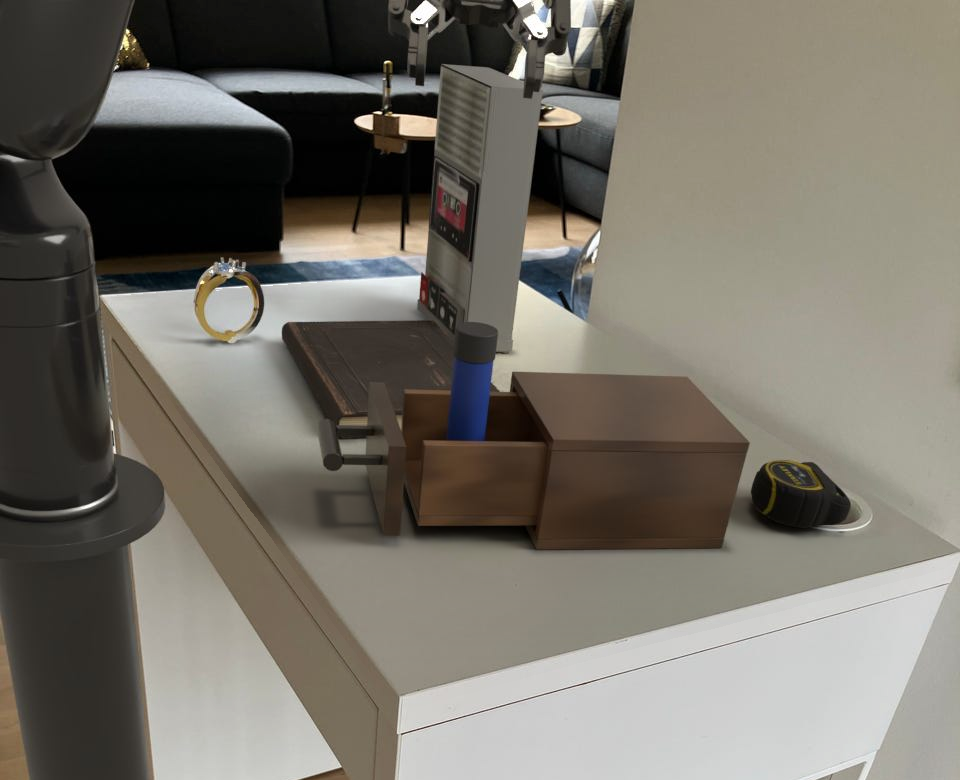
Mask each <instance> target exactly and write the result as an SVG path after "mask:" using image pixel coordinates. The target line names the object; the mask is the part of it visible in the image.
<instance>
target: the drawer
mask: <svg viewBox="0 0 960 780" xmlns="http://www.w3.org/2000/svg"><path fill="white" fill-rule="evenodd" d="M450 395H451V391H450V390H410V389H404V393H403V408H402V423H401V429H400V426H399V423H398V420H397V417H396V414H395V412H394V409H393V406H392V403H391V400H390V397H389V394H388V391H387V388H386V385H385V382H369V396H368V417H367V426H361V425H336V426H335V423H334V422H333V421H332V420H330V419H329V418H323V419H321V420H319V421H318V422H317V424H316V432H317V437H318V438H317V439H318V443H319V449H320V453H321V459H322V464H323V467H324V468H325V469H326V470H327V471H330V472H336V471H339V470H340V469H341V468H342V467H343V466H365V468H366V473H367V476H368V480H369V485H370V488H371V492H372V496H373V500H374V504H375V507H376V512H377V516H378V519H379V524H380V527H381V532H382V535H383V536H400V535H401V526H402V513H403V501H404V486H405V489H406V492H407V496H408V498H409V502H410V505H411V508H412V511H413V514H414V517H415V522H416V524H417V526H418V527H448V526H449V527H457V526H459V527H460V526H461V527H463V526H465V527H468V526H469V527H473V526H476V527H477V526H483V527H485V526H487V527H488V526H491V527H493V526H496V527H497V526H525V525H537V520H538V514H539V507H540V501H541V494H542V487H543V481H544V474H545V468H546V461H547V455H548V448H549V445H548V443H547V442H546V440H545V438H544V436H543V435H542V433H541V431H540V430H539V428H538V426H537V425H536V423H535V421H534V420H533V418H532V416H531V414H530V413H529V411H528V409H527V408H526V406H525V404H524V403H523V401H522V399H521V398H520V396H519V394H518V392H510V391H500V392H490V396H489V404H488V413H487V422H486V430H485V439H484V441H446V437H447V427H448V416H449V405H450ZM339 435H346V436H367V437H366V438H365V441H366V442H365V454H364V453H362V454H357V453H342V450H341V449H342V448H341V445H340V440H339Z"/></svg>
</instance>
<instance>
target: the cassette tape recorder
mask: <svg viewBox="0 0 960 780" xmlns="http://www.w3.org/2000/svg"><path fill="white" fill-rule="evenodd" d="M438 85H439V87H438V99H437V100H438V101H437V113H436V126H435V137H434V138H435V139H434V155H433V163H432V164H433V165H432V175H431V177H432V178H431V189H430V190H431V192H430V204H429V205H430V206H429V217H428V233H427V246H426V257H425V259H426V260H425V273H423V271H420V284H419V299H417V305H416V306H417V307H416V310H417V311H418V312H419V313H420V314H421V315H422V316H423V317H424V318H425V319H426V320H433V321H434V322H435V323H436V324H437V325H438V326H439V327H440V328H441V329H442V330H443V331H444V332H445V333H446V334H447V335H448V337H449V338H450V339H451V340H452V341H453V342H454V337H455V327H456V325H458V324H460V323H464V322H479V323H484V324H488V325H491V326H493V327H495V328H496V329H497V330H498V339H497V348H496V353H497V352H500V353H503V354H507V353H510V352H512V351H513V345H514V340H513V332H514V331H513V330H514V325H515V324H514V323H515V316H516V315H515V314H516V308H517V299H518V294H519V293H518V291H519V284H520V275H521V269H522V259H523V254H524V253H523V252H524V244H525V236H526V227H527V220H528V213H529V203H530V196H531V190H532V189H531V188H532V179H533V172H534V165H535V158H536V157H535V156H536V147H537V140H538V131H539V124H540V118H541V117H540V116H541V108H542V102H543V101H542V100H543V94H544V93H543V92H544V90H543V89H542V88H541V89H540V91H539V92H533V96H532V99H528V98H523V91H524V81H523V80H521V79H518V78H515V77H514V76H513V77H512V76H510V75H508V74H505V73H503V72H500V71H498V70H496V69H493V68H491V67H488V66H487V67H486V66H472V65H460V64H459V65H458V64H445V63H441V64H440V74H439V84H438Z"/></svg>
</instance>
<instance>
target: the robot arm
mask: <svg viewBox="0 0 960 780" xmlns="http://www.w3.org/2000/svg"><path fill="white" fill-rule="evenodd" d="M541 1H542V3H543V4H544V7H545V9H547V10H550V26H548V27H546V25H545V23H544V22H543V20H542V19H541V18H540V17H539V16H538V14H537V13H536V10H535V6H534V3H533V1H532V0H424V1H423V2H422V3H421V4H420V5H419V6H418V7H417V8H415V9H414V11H412V10H410V9H408V5H409V0H388V5H387V6H388V7H387V11H388V12H387V17H388V18H387V22H388V23H387V24H388V27H387V28H388V30H387V31H388V33H389V34H390V36H392V37H395V38H397V37H401V36H402V37H404V38H406V39H407V40H408V50H407V67H406V68H407V69H406V70H407V74H408V77H409V78H412V79H414V80H415V82H414V83H415V84H414V85H415V86H417V87H425V81H426V68H427V67H426V66H427V56H428V55H427V54H428V53H427V52H428V41H429V40H430V39H431V38H432V37H433V36H434V35H435V34H437V33H439V34H440V33H442V32H443V31H444V30H445V29H446V28H447V27H448V26H449V25H451V24H452V22H453V21H454V20H457V21H458V22H459V23H458V24H459V25H467V26H472V25H481V26H484V27H486V28H492V29H499V26H501V25H502V26H503V27H504V28H505V30H506V32H507V33H508V34H509V36H510V37H511V38H512V39H513V42H516V43H517V42H518V43H519V44H520V45H521V47H522V48H523V49H524V51H525V52H526V54H525V61H524V76H523V82H524V91H523V98H528V99H532V96H533V92H539V91H540V89H542V87H543V83H544V77H545V65H546V56H548V55H549V54H553V55H555V56H557V57H561V56H564V55H565V54H566V52H567V48H568V41H569V36H570V34H571V30H572V10H571V9H572V7H571V6H572V5H571V4H572V2H571V0H541ZM135 2H136V0H0V515H3V516H5V517H8V518H12V519H16V520H22V521H29V522H59V521H67V520H73V519H78V518H82V517H86V516H89V515H92V514H94V513H97V512H99V511H101V510H103V509H105V508H106V507H108V506H109V505H110V504H111V503H112V502H113V501H114V500H115V499H116V497H117V495H118V490H119V489H118V479H117V476H116V466H115V462H114V453H115V452H114V447H115V435H114V434H115V433H114V430H113V429H112V421H111V411H110V410H111V409H110V400H109V390H108V389H109V388H108V380H107V379H108V378H107V370H106V369H107V368H106V359H105V347H104V340H103V339H104V338H103V327H102V326H103V325H102V317H101V315H102V314H101V307H100V297H99V286H98V275H97V265H96V264H97V263H96V256H95V254H96V253H95V246H94V245H95V244H94V236H93V230H92V226H91V223H90V221H89V218H88V217H87V216H86V213H85V212H84V211H83V210H82V209H81V208H80V207H79V206H78V205H77V204H76V202H75V201H74V200H73V198H72V197H71V196H70V195H69V193H68V192H67V191H66V189H65V188H64V186H63V184H62V182H61V180H60V179H59V177H58V175H57V172H56V169H55V168H54V164H53V160H54V159H57V158H59V157H62V156H64V155H66V154H67V153H69V152H70V151H72V150H73V149H75V148H76V147H77V146H78V145H79V143H80V142H82V140H83V139H84V138H85V137H86V136H87V135H88V133H89V132H90V130H91V128H92V127H93V126H94V123H95V121H96V120H97V118H98V116H99V114H100V111H101V109H102V107H103V104H104V102H105V98H106V96H107V95H108V94H107V93H108V91H109V87H110V86H111V85H110V84H111V82H112V78H113V76H114V72H115V69H116V65H117V61H118V59H119V56H120V52H121V49H122V46H123V42H124V38H125V35H126V32H127V28H128V25H129V21H130V18H131V14H132V11H133V9H134V5H135Z"/></svg>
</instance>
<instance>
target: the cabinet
mask: <svg viewBox="0 0 960 780" xmlns="http://www.w3.org/2000/svg"><path fill="white" fill-rule="evenodd" d="M509 392H518V394H519V396H520V398H521V399H522V401H523V403H524V404H525V406H526V408H527V409H528V411H529V413H530V414H531V416H532V418H533V420H534V421H535V423H536V425H537V426H538V428H539V430H540V431H541V433H542V435H543V436H544V438H545V440H546V442H547V443H548V445H549V448H548V455H547V461H546V468H545V474H544V481H543V487H542V494H541V501H540V507H539V514H538V520H537V525H524V527H525V529H526V531H527V533H528V535H529V538H530V539H531V541H532V543H533V546H534V548H535V549H536V550H623V549H625V550H629V549H631V550H632V549H633V550H634V549H635V550H637V549H643V550H644V549H647V550H648V549H721V548H723V545H724V541H725V536H726V533H727V529H728V526H729V522H730V518H731V514H732V509H733V506H734V503H735V499H736V495H737V492H738V489H739V484H740V480H741V477H742V473H743V469H744V466H745V462H746V458H747V453H748V451H749V448H750V444H751V442H750V441H749V439H748V438H746V437H745V436H744V434H743V433H742V432H741V431H740V430H739V429H738V428H737V427H736V426H735V425H734V424H733V423H732V422H731V421H730V420H729V419H728V418H727V417H726V415H724V413H722V411H720V409H719V408H718V407H717V406H716V405H715V404H714V403H713V402H712V401H711V399H709V398H708V396H706V395H705V394H704V393H703V392H702V390H700V388H699V387H698V386H697V385H696V384H695V383H694V382H693V381H692V380H691V379H690V378H689V377H688V376H682V375H681V376H677V375H647V374H646V375H645V374H609V373H581V372H580V373H577V372H575V373H574V372H543V371H542V372H541V371H540V372H539V371H511V379H510V387H509Z"/></svg>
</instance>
